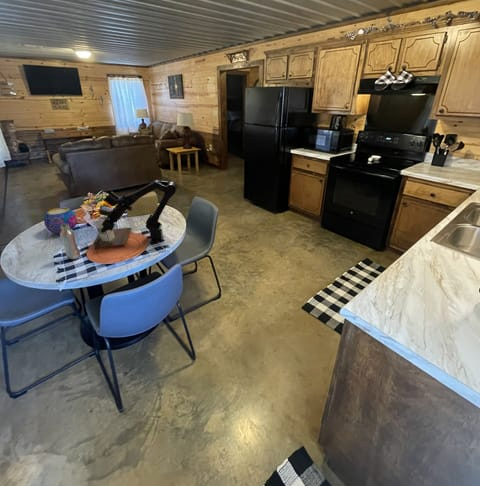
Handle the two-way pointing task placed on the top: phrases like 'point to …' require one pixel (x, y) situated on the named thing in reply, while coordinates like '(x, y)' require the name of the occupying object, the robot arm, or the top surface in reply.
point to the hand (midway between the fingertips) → (103, 229)
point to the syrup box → (106, 235)
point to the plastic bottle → (69, 242)
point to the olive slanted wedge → (114, 239)
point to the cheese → (144, 205)
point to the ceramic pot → (59, 219)
